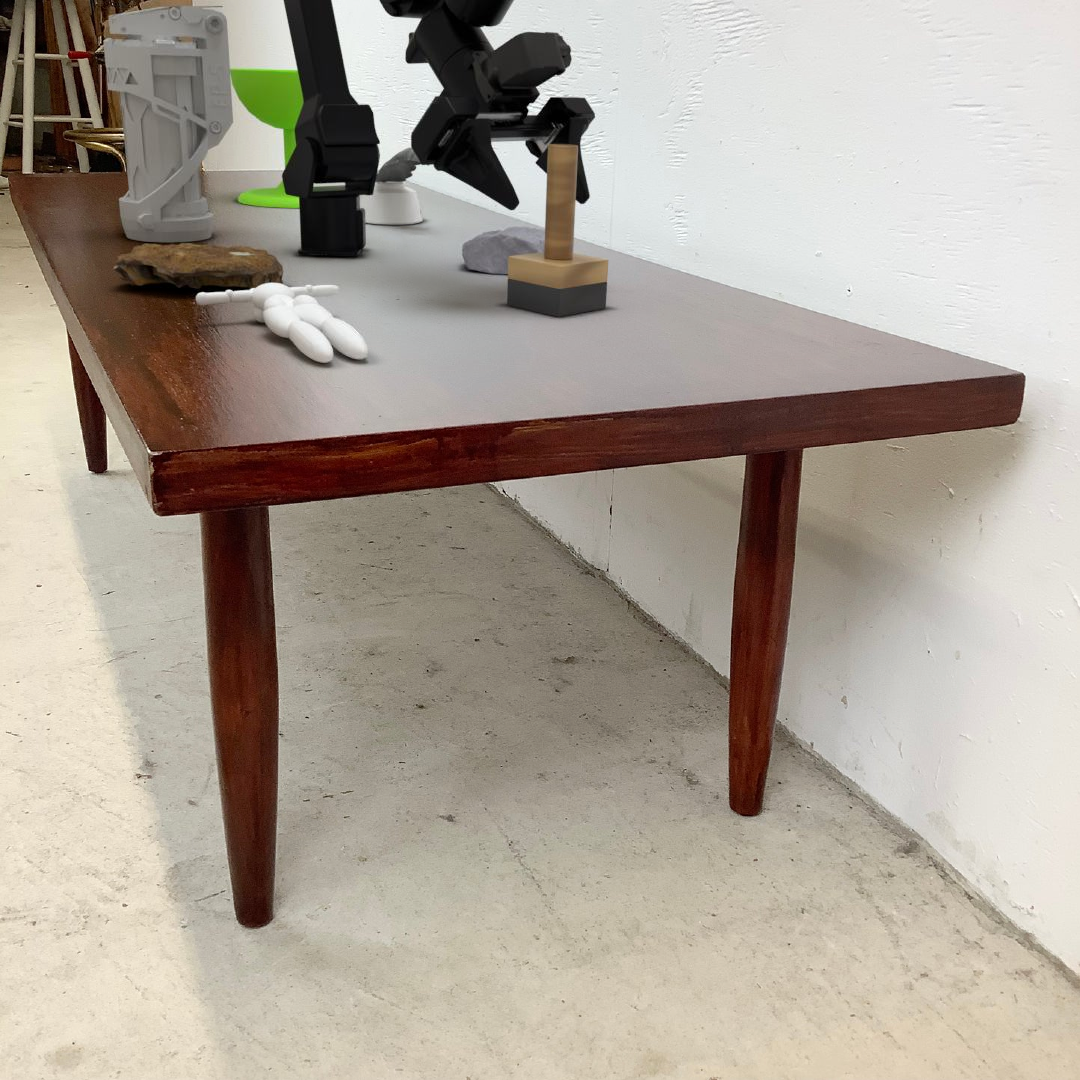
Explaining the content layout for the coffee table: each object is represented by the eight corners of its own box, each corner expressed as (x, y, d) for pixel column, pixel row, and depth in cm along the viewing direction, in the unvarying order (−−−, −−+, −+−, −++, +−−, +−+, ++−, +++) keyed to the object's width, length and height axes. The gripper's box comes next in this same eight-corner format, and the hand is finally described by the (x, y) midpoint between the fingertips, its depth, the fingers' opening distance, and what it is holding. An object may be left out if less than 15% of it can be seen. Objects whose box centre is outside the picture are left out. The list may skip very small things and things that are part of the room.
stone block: (458, 287, 122) (551, 275, 119) (450, 241, 120) (543, 227, 118) (486, 274, 132) (571, 262, 130) (479, 231, 131) (565, 218, 129)
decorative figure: (422, 336, 85) (332, 268, 98) (262, 351, 79) (189, 276, 93) (420, 380, 87) (332, 307, 100) (263, 398, 81) (191, 318, 94)
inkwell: (405, 215, 162) (404, 139, 158) (466, 232, 148) (467, 150, 144) (343, 217, 157) (341, 139, 154) (400, 235, 143) (399, 151, 140)
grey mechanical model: (135, 244, 130) (112, -2, 120) (113, 231, 138) (89, 0, 128) (248, 239, 136) (234, 5, 126) (220, 227, 144) (205, 7, 135)
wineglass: (337, 209, 165) (333, 73, 158) (225, 205, 165) (216, 69, 158) (355, 197, 180) (352, 72, 173) (252, 193, 180) (245, 68, 173)
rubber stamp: (558, 317, 101) (565, 148, 96) (506, 305, 105) (510, 143, 100) (605, 308, 106) (615, 146, 100) (554, 297, 110) (560, 141, 104)
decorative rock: (124, 306, 100) (294, 303, 107) (121, 259, 99) (294, 259, 105) (106, 277, 110) (264, 275, 116) (103, 232, 108) (264, 234, 114)
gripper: (432, -11, 93) (527, 142, 91) (584, 3, 106) (671, 138, 103) (372, 90, 101) (457, 234, 98) (520, 91, 114) (600, 219, 111)
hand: (551, 203), depth 103 cm, fingers open, 9 cm apart
